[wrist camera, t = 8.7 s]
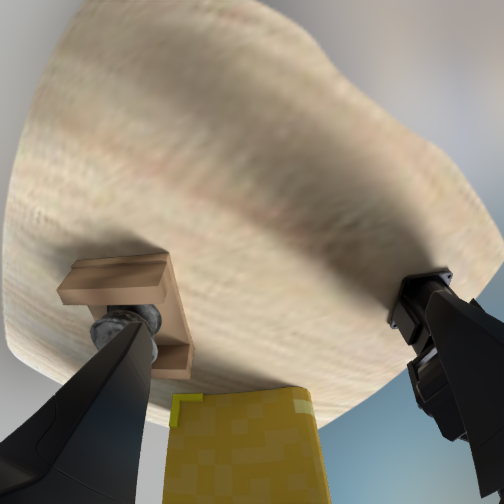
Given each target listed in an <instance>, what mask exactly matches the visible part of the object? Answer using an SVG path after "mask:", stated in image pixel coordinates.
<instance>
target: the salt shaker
mask: <svg viewBox="0 0 504 504" xmlns="http://www.w3.org/2000/svg"><path fill="white" fill-rule="evenodd" d="M136 321H141V322H144V323H145V325H146V327H147V330H148V332H149V335H150V337H151V339H152V343H153V353H152V363H153V362H154V361H155V360H156V358H157V354H158V349H157V345H156V340H155V336H154V335H155V334H156V333H157V332H158V331H159V330H160V328H161V325H162V318H161V315H160V312H159V310H158V309H157V308H156V307H155V305H154V304H138V305H107V314H105V315H104V316H103V317H102V318H101V319H99V320H97V321H96V322H95V323H94V324H93V325H92V327H91V330H90V333H91V339H92V341H93V343H94V345H95V346H96V348H97V349H98V350H99V351H100V350H101V349H102V348H103V347H104V346H105V345H106V344H107V343H108V342H109V341H110V340H111V339H112V338H113V337H114V336H116V335H117V334H118V333H119V332H120V331H121V330H122V329H123V328H124V327H125V326H126V325H127V324H128V323H130V322H136Z"/></svg>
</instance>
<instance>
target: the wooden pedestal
mask: <svg viewBox="0 0 504 504" xmlns="http://www.w3.org/2000/svg"><path fill="white" fill-rule="evenodd" d="M57 292H58V294H59V296H60V298H61V300H62V303H63V305H88V307H89V309H90V311H91V313H92V315H93V317H94V320H95V322H96V321H97V320H99V319H101V318H102V317H103V316H104V315H105V314H107V305H138V304H154V305H155V307H156V308H157V309H158V310H159V312H160V315H161V318H162V325H161V328H160V330H159V331H158V332H157V333H156V334H155V335H154V336H155V340H156V345H157V349H158V354H157V358H156V360H155V361H154V362H153V363H152V365H151V378H154V379H190V376H191V368H192V360H193V356H194V350H195V348H194V345H193V342H192V338H191V335H190V332H189V328H188V325H187V321H186V318H185V314H184V310H183V307H182V303H181V299H180V295H179V291H178V287H177V284H176V279H175V275H174V271H173V267H172V263H171V259H170V254H169V253H163V254H151V255H139V256H127V257H114V258H103V259H91V260H79V261H76V262H75V263H74V264H73V265H72V270H71V272H70V273H69V274H68V275H67V277H66V278H65V279H64V281H63V282H62V283H61V284H60V286H59V287H58V288H57Z"/></svg>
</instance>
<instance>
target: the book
mask: <svg viewBox="0 0 504 504" xmlns="http://www.w3.org/2000/svg"><path fill="white" fill-rule="evenodd" d="M169 427H170V432H169V440H168V448H167V457H166V466H165V476H164V488H163V500H162V504H332V502H331V497H330V491H329V486H328V481H327V475H326V470H325V465H324V460H323V455H322V450H321V445H320V439H319V434H318V430H317V425H316V420H315V415H314V410H313V406H312V401H311V396H310V393H309V391H308V390H307V389H304V388H302V387H285V388H278V389H270V390H262V391H252V392H242V393H230V394H215V395H203V393H190V394H173V398H172V406H171V413H170V421H169Z"/></svg>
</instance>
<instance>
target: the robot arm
mask: <svg viewBox="0 0 504 504" xmlns="http://www.w3.org/2000/svg"><path fill="white" fill-rule="evenodd" d="M452 276H453V273H452V272H451V271H450V270H448V271H442V272H435V273H429V274H422V275H415V276H408V277H406V278H405V279H404V280H403V282H402V286H401V289H400V293H399V296H398V300H397V303H396V306H395V309H394V313H393V316H392V319H391V322H390V327H391V328H392V329H397V328H398V329H399V331H400V332H401V334H402V336H403V338H404V339H405V341H406V343H407V344H408V345H409V346H410V345H412V347H413V349H414V351H415V352H416V354H417V357H416V358H415V359H414V360H413V361H410V362H409V363H408V364H407V367H408V370H409V376H410V379H411V383H412V387H413V391H414V394H415V398H416V402H417V403H418V407H419V408H420V409H423V411H424V412H425V413H426V414H427V415H428V416H430V417H432V418H434V419H435V421H436V423H437V425H438V427H439V429H440V431H441V433H442V436H443V437H445V438H446V439H448V440H450V441H452V442H453V441H455V440H456V439H461V440H464V441H467V442H469V444H470V448H471V452H472V456H473V461H474V465H475V469H476V474H477V479H478V485H479V490H480V496H481V498H484V497H486V496H488V495H490V494H492V493H494V492H496V491H498V494H499V496H500V498H501V500H500V502H499V504H504V323H503V322H501V321H500V320H498V319H496V318H495V317H493V316H491V315H489V314H487V313H486V312H485V311H484V310H483V309H482V307H481V306H480V305H479V304H478V303H477V302H476V301H475V299H474V298H473V299H472V300H471V301H470V302H469V303H467V302H465V301H464V300H462V299H460V298H459V297H458V296H457V295H456V294H455V293H454V292H453V290H452V289H451V288H450V287H449V285H450V282H451V279H452ZM408 281H409V282H408ZM407 282H408V283H407ZM152 353H153V343H152V339H151V337H150V335H149V332H148V330H147V327H146V325H145V323H144V322H141V321H136V322H130V323H128V324H127V325H126V326H125V327H124V328H123V329H122V330H121V331H120V332H119V333H118V334H117V335H116V336H114V337H113V338H112V339H111V340H110V341H109V342H108V343H107V344H106V345H105V346H104V347H103V348H102V349H101V350H100V351H99V352H97V353H96V354H95V355H94V356H93V357H92V358H91V359H90V360H89V361H88V362H87V363H86V364H85V365H84V366H83V367H82V368H81V369H80V370H79V371H78V372H77V373H76V374H75V375H74V376H73V377H71V378H70V379H69V380H68V381H67V382H66V383H65V384H64V385H63V386H62V387H61V388H60V389H59V390H58V391H57V392H56V393H55V395H53V396H52V397H51V398H50V399H49V400H48V401H47V402H46V403H45V404H44V405H43V406H42V407H41V408H40V409H39V410H38V411H37V412H36V413H35V414H33V415H32V416H31V417H30V418H29V419H28V420H27V421H26V422H24V423H23V424H22V425H21V426H20V427H18V428H17V429H16V430H15V431H14V432H13V433H11V434H10V435H9V436H8V437H7V438H5V439H4V440H3V441H2V442H0V504H135V496H136V485H137V476H138V467H139V459H140V451H141V443H142V436H143V429H144V423H145V416H146V410H147V404H148V399H149V392H150V379H151V365H152Z"/></svg>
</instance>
